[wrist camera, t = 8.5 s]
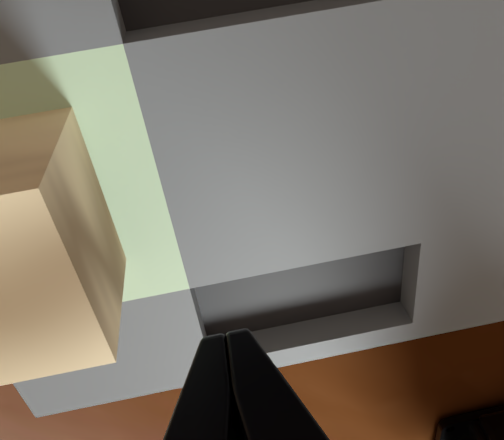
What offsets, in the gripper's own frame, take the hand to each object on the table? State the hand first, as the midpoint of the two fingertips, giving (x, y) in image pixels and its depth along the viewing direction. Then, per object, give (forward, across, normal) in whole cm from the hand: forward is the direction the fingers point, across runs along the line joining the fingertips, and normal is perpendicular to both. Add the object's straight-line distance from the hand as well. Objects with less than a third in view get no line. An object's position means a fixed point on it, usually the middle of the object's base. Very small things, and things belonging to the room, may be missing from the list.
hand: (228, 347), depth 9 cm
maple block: (+6, +5, 0) cm, 8 cm away
